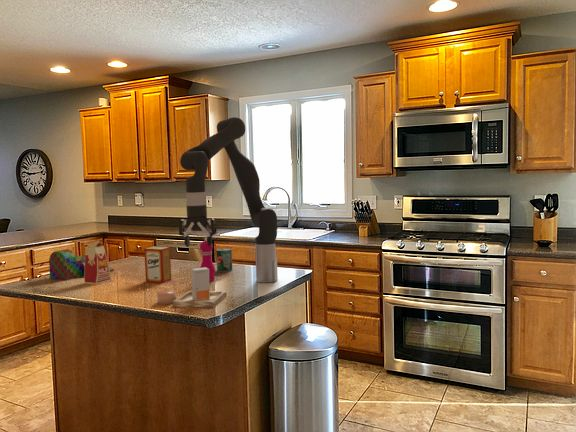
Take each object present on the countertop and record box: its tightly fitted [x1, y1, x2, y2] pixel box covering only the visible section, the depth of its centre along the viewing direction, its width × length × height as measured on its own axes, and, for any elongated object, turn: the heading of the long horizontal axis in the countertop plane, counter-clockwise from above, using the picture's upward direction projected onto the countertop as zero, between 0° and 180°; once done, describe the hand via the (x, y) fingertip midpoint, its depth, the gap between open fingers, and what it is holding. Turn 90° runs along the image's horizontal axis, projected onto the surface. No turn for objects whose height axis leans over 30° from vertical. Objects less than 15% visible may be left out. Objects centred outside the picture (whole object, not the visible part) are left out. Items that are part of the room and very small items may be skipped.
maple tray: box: [172, 290, 228, 308], centre depth 189 cm, size 16×16×2 cm
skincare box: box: [190, 267, 211, 301], centre depth 188 cm, size 6×4×12 cm
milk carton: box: [83, 239, 113, 286], centre depth 228 cm, size 9×9×20 cm
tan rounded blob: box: [156, 289, 177, 305], centre depth 189 cm, size 7×7×4 cm
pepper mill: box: [199, 237, 216, 282], centre depth 226 cm, size 7×7×20 cm
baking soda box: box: [143, 245, 172, 284], centre depth 227 cm, size 10×6×16 cm
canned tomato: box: [215, 247, 233, 273], centre depth 249 cm, size 8×8×11 cm
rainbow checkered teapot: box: [48, 248, 115, 281], centre depth 247 cm, size 25×17×14 cm
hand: (198, 246), depth 187 cm, fingers open, 8 cm apart
